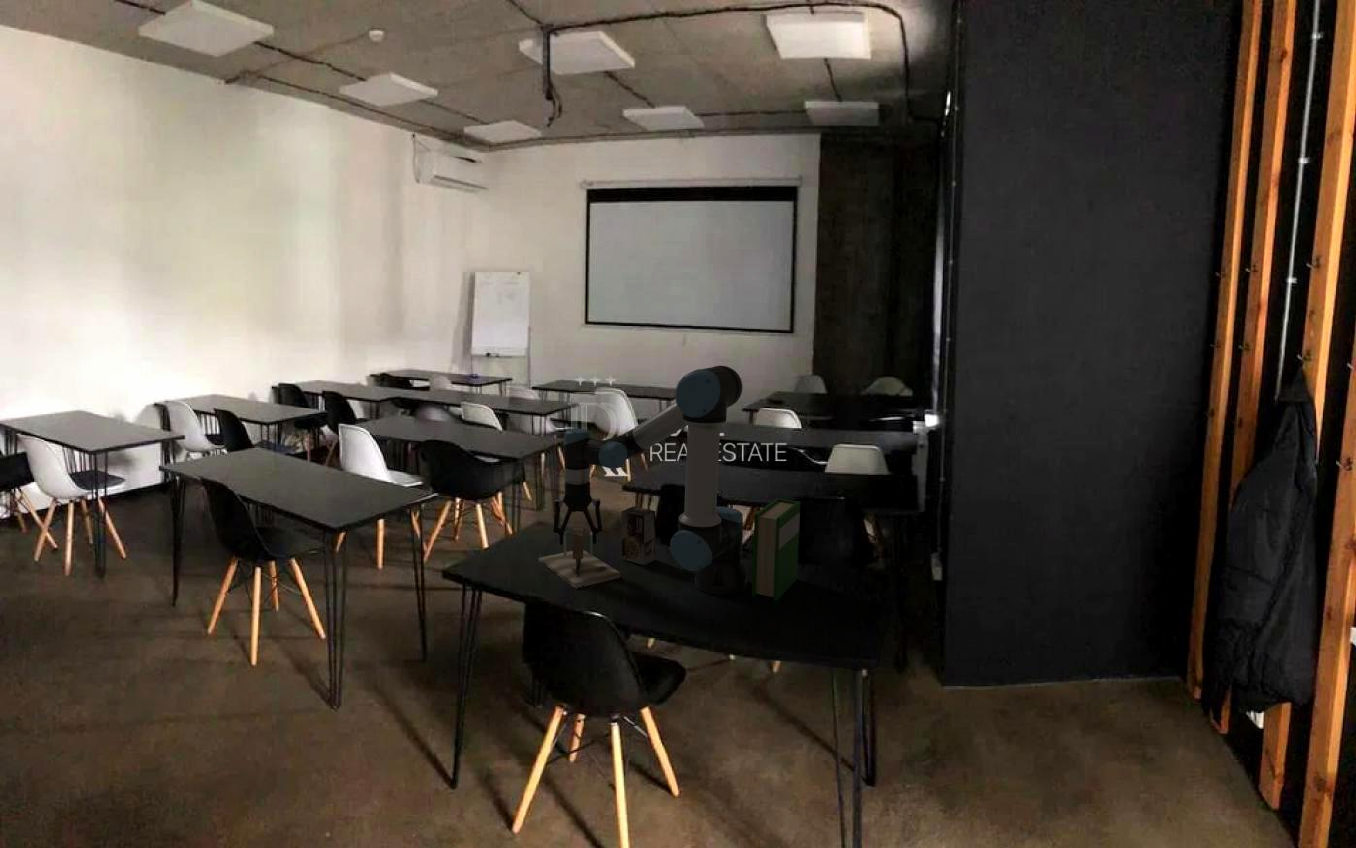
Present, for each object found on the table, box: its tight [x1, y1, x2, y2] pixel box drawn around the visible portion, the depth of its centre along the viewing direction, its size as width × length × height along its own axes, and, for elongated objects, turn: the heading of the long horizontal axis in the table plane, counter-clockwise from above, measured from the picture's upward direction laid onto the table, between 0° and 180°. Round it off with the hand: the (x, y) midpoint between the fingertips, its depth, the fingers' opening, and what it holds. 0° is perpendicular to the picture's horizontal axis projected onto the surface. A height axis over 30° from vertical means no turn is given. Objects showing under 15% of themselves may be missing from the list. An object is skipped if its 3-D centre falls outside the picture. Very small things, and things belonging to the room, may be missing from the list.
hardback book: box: [751, 497, 801, 602], centre depth 220 cm, size 18×7×24 cm, turn 153°
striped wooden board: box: [538, 550, 621, 589], centre depth 233 cm, size 24×15×2 cm, turn 36°
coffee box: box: [620, 506, 656, 566], centre depth 241 cm, size 9×6×16 cm
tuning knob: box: [572, 527, 585, 574], centre depth 230 cm, size 12×3×10 cm, turn 6°
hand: (578, 554), depth 233 cm, fingers open, 7 cm apart
